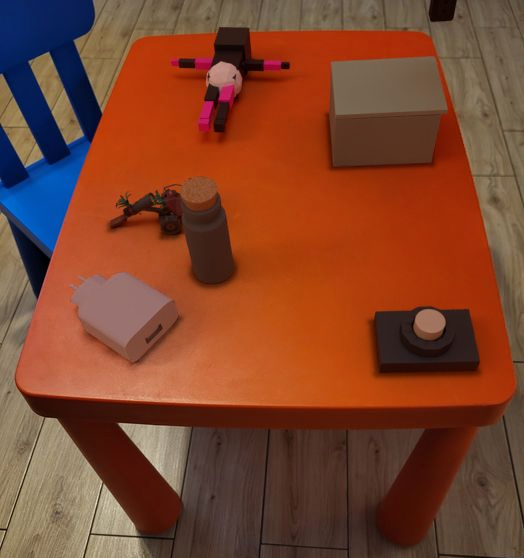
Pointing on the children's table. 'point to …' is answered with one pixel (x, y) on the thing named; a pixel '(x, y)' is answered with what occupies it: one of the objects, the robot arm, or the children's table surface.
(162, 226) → the toy vehicle
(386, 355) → the control block
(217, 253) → the bottle
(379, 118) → the chest
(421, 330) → the button
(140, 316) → the charger
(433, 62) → the lid
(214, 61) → the blocky doll
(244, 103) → the children's table surface
